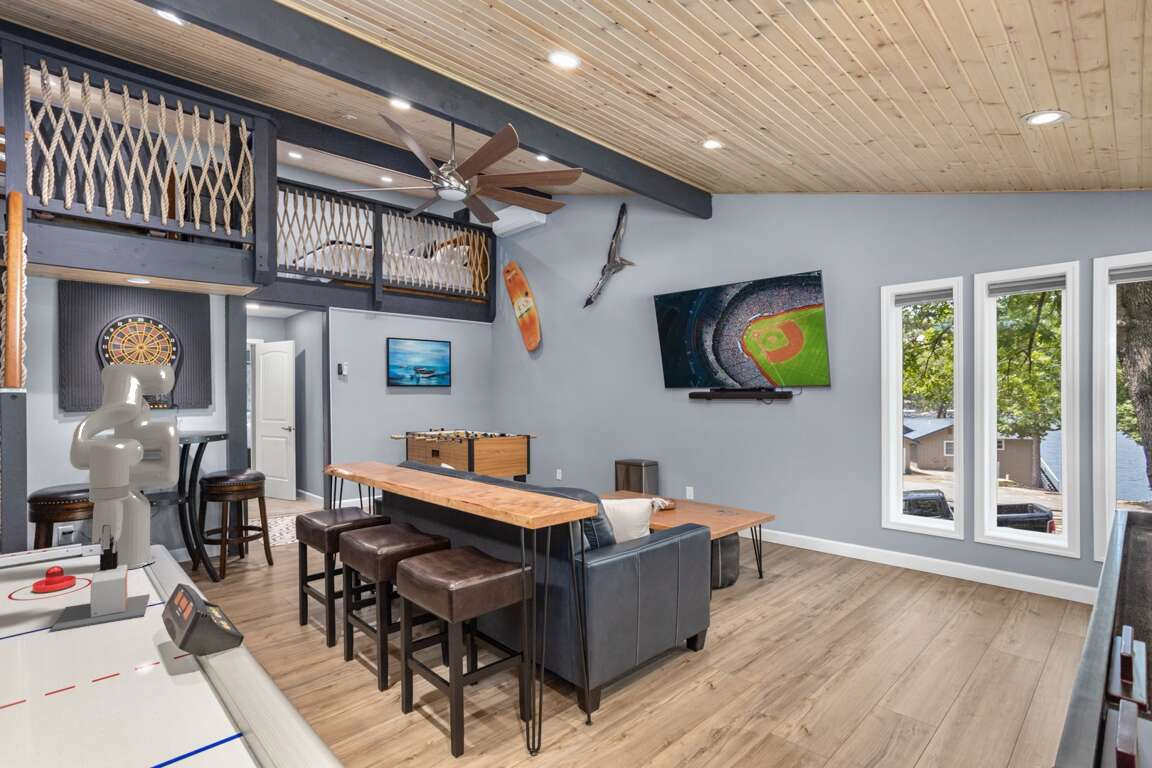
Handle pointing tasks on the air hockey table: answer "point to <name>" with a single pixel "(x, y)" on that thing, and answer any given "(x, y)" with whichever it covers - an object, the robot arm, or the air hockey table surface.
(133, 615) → the mat
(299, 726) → the air hockey table surface
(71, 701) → the air hockey table surface
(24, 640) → the air hockey table surface
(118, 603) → the small box
